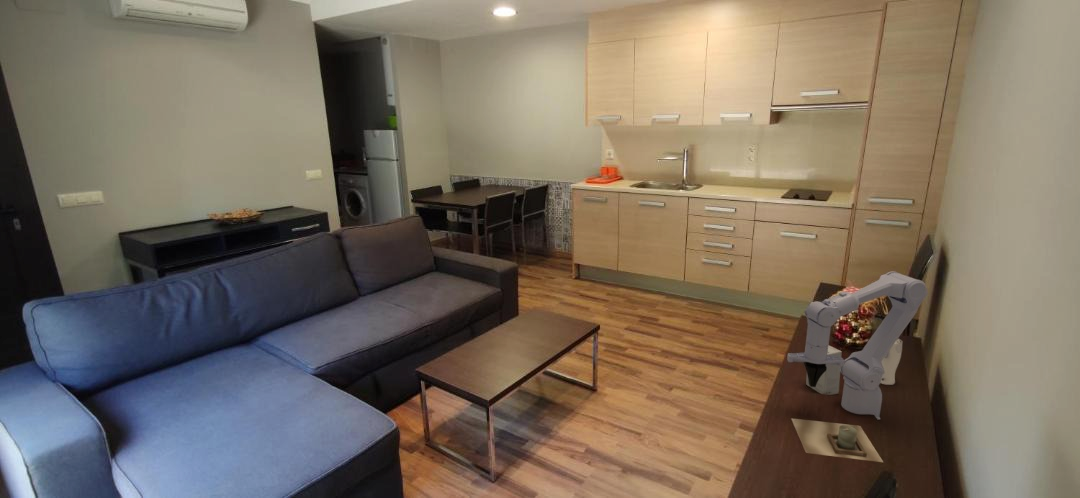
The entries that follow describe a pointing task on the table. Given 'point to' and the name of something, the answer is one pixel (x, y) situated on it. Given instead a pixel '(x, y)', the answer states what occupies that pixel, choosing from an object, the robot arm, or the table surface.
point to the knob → (847, 437)
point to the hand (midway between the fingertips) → (812, 385)
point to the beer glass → (891, 363)
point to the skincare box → (829, 376)
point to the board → (833, 440)
